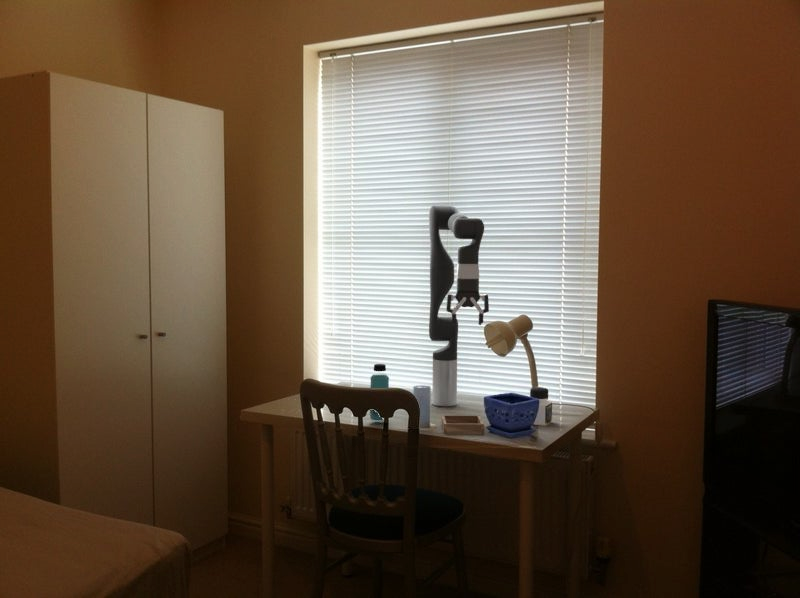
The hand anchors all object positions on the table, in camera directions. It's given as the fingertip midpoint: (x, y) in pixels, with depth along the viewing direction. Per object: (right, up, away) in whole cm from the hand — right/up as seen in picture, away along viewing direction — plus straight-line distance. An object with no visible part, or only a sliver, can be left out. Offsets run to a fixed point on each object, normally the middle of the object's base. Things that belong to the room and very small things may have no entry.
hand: (467, 324), depth 248 cm
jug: (-16, -33, -10) cm, 38 cm away
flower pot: (+12, -35, -17) cm, 40 cm away
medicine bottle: (+24, -33, -1) cm, 41 cm away
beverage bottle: (-30, -33, -3) cm, 45 cm away
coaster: (-16, -34, -10) cm, 38 cm away
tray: (-3, -34, -13) cm, 36 cm away
